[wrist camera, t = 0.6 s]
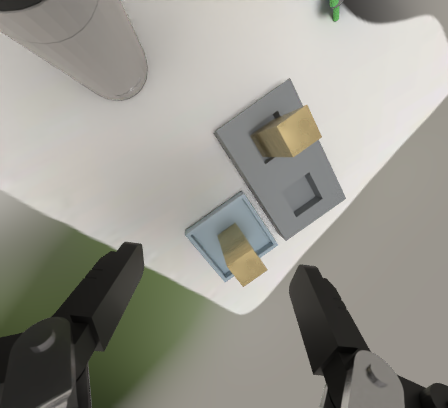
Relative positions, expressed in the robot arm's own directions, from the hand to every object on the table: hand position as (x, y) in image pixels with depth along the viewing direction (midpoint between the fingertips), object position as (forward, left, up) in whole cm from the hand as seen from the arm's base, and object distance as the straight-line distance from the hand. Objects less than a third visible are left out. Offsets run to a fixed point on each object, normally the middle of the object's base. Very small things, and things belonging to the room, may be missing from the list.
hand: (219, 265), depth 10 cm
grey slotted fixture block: (+5, +14, -23) cm, 27 cm away
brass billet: (+10, 0, -23) cm, 25 cm away
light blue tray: (+10, 0, -23) cm, 25 cm away
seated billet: (-1, +14, -22) cm, 26 cm away
